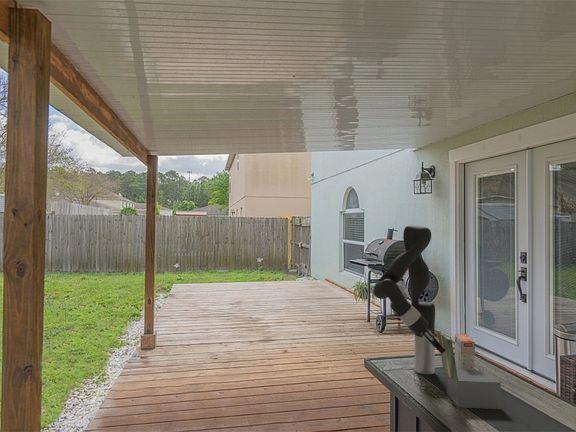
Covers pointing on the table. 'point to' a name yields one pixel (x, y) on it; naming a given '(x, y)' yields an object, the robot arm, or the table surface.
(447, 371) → the lid
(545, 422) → the table surface
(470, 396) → the block
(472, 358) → the cracker box
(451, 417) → the table surface
